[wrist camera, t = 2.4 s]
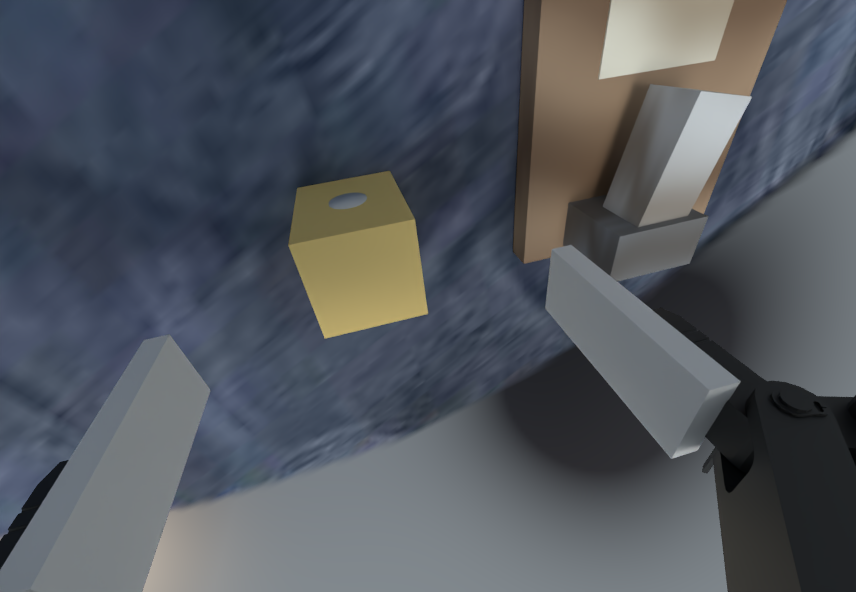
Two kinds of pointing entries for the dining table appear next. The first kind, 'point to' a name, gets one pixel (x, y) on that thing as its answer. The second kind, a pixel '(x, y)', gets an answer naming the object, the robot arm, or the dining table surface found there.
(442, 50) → the dining table surface
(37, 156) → the dining table surface
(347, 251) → the block
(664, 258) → the brown wooden base
